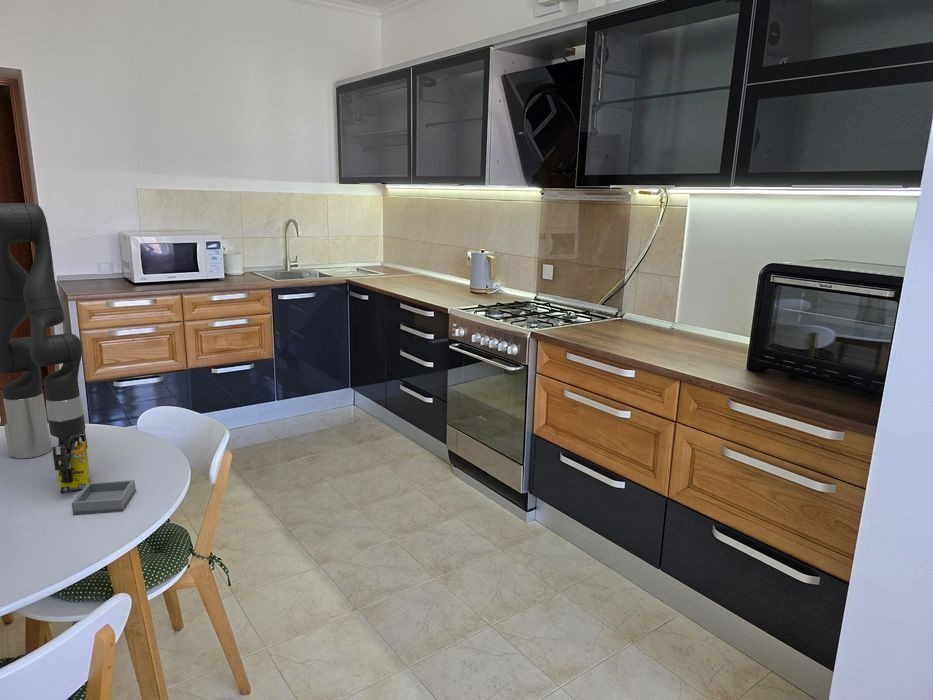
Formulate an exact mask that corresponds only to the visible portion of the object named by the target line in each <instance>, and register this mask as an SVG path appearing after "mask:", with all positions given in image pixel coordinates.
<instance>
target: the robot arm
mask: <svg viewBox="0 0 933 700" xmlns="http://www.w3.org/2000/svg"><path fill="white" fill-rule="evenodd" d="M49 233H50V232H49V227H48V222H47V218H46V215H45V213H44V210H43V209H42V207H41V206H40V205H38V204H37V203H35V202H34V203H32V202H15V203H14V202H12V203H11V202H7V203H6V202H4V203H3V202H2V203H1V202H0V375H7V374H14V373H18V372H22V373H21V375H20V376H18V377H17V378H16V379H15V380H13V381H11V382H8V383H7V384H5V385H4V386H3V387H2V388H1V394H2V395H1V396H2V399H3V406H4V410H5V411H4V412H5V418H6V419H5V420H6V423H4V425H3V427H4V434H5V440H6V446H7V452H8V457H9V458H15V459H31V458H37V457H40V456H43V455H45V454H48V453H49V452H51V450H52V456H53V465H54V470H55V471H57V470H61V476H62V482H63V483H72V481H73V475H72V468H71V465H72V460H73V459H74V458H75V454H74V451H75V449H76V448H77V445H79V444H81V443H82V442H86V449H88V441H87V434H86V420H85V414H84V407H83V406H84V405H83V402H82V401H83V400H82V398H81V393H80V387H79V371H80V366H81V360H82V355H83V345H82V342H81V339H80V338H79V337H78V336H77V335H76V334H74V333H71V332H69V333H68V332H67V333H61V334H54V335H52V334H51V335H46V333H47V330H48V329H49V328H51V327H54V326H58V325H61V324H62V323H64V322H65V313H64V310H63V305H62V303H61V299H60V295H59V292H58V288H57V283H56V279H55V271H54V269H55V268H54V262H53V254H52V247H51V239H50V234H49ZM14 243H17V244H18V243H32V244H33V248H34V257H33V258H34V259H33V262H32V263H31V264H32V265H31V266H30V267H31V268H30V270H29V272H27V271H26V269H25V268H24V267H22V265H20V264H19V263H18V261H17V260H16V259H15V257H14V256H13V255H12V254H11V252H10V244H14ZM27 318H29V324H30V336H24V337H15V338H11V337H12V335H13V333H14V332H15V331H16V330H17V329H18V327H19V326H20V325H21V324H22V323H23V322H24V321H25V320H26V319H27ZM55 365H62V366H61V367H60V369H58V370H56V371H55V372H53V373H50V374H47V375H46V376H45V377H44V379H43V380H42V372H41V371H42V370H41V367H42V368H43V367H44V368H45V367H50V366H55ZM43 386H44V391H43ZM43 392H44V393H45V398H44V393H43ZM45 400H46V403H45ZM45 404H46V406H45ZM50 435H51V436H52V437H55V438H57V439H58V441H57V442H58V443H57V446H52V445H51V443H52V442H51V439H50V438H51V437H50ZM66 452H67V453H69V452H71V454H70V455H69V456H67V455H66ZM67 460H68V462H67ZM58 461H59V462H58Z"/></svg>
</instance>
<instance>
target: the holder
mask: <svg viewBox="0 0 933 700" xmlns="http://www.w3.org/2000/svg"><path fill="white" fill-rule="evenodd" d="M136 491H137V489H136V482H135V479H130V480H113V481H99V482H98V481H97V482H90V483H88V484H87V485H86V486H85V487H84V489H83V490H80V492H79V493H78V494H77V496H76V497H75V498H74V500H73V501H72V502H71V511H72V515H73V516H77V515H78V516H80V515H91V514H92V515H93V514H105V513H107V514H108V513H118V512H124V511H125V508H126V507H127V506H128V503H130V501H131V499H132V498H133V496H134V495H135V493H136Z"/></svg>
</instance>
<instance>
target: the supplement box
mask: <svg viewBox="0 0 933 700" xmlns="http://www.w3.org/2000/svg"><path fill="white" fill-rule="evenodd" d="M87 449H88V448H87ZM87 449H86V442H83V441H82V443H81V444H79V445H77V448H76V449H75V451H74V454H75V458H74V459H73V460H72V465H71V468H72V475H73V481H72V483H63V482H62V476H61V470H56V471H57V476H58V477H57V478H58V484H59V493H60V494H65V493H71V492H72V493H73V492H79V491H80V492H81V491H82V490H83V489H84V487H85V486H86V485H87V484H88V483H91V473H90V467H89V458H88V457H89V456H88V450H87ZM70 454H71V452H69V453H67V452H66V455H67V456H69V455H70ZM58 462H59V461H58ZM67 462H68V460H67Z"/></svg>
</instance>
